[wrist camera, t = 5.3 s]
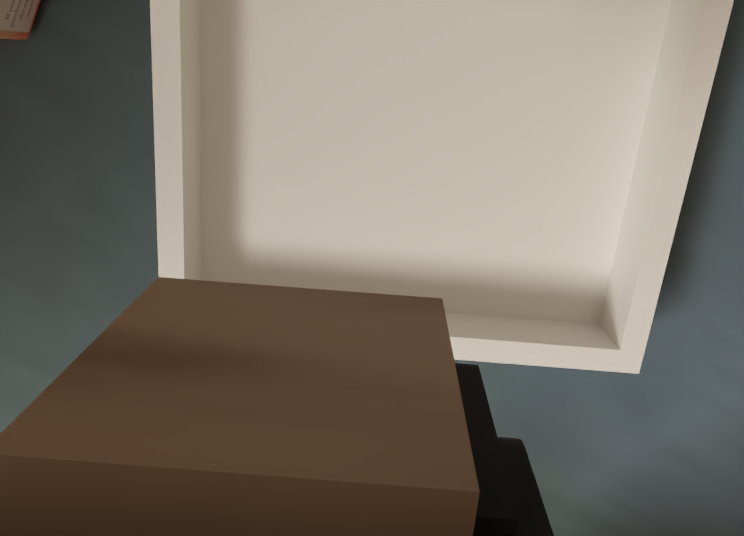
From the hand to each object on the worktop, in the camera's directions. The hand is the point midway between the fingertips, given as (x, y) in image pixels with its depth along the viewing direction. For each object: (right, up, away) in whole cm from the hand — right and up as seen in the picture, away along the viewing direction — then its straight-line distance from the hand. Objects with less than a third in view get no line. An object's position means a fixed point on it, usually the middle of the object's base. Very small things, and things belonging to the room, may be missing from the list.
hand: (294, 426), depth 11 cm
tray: (+4, +11, +14) cm, 18 cm away
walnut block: (0, 0, 0) cm, 0 cm away
